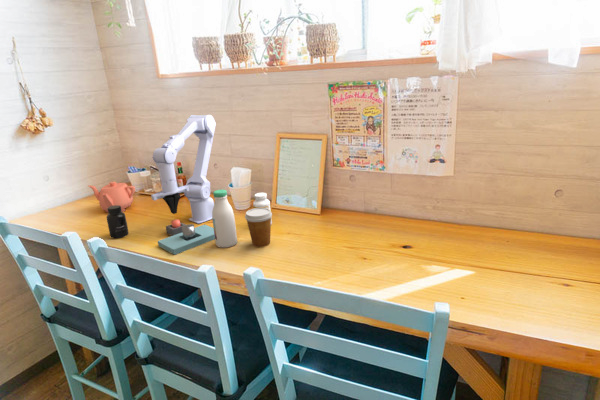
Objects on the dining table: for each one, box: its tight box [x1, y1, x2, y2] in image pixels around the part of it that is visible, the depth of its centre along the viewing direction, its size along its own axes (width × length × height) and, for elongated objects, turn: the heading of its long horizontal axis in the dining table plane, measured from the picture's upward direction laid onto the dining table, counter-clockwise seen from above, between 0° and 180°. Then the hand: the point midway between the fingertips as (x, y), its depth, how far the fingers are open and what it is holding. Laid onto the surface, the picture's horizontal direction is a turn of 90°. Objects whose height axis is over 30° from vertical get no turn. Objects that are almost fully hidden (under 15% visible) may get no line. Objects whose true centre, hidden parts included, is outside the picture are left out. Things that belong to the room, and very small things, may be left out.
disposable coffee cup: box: [244, 207, 273, 248], centre depth 144 cm, size 10×10×12 cm
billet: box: [182, 223, 196, 241], centre depth 151 cm, size 4×4×6 cm
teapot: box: [87, 181, 136, 214], centre depth 193 cm, size 16×17×14 cm
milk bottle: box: [211, 189, 238, 249], centre depth 144 cm, size 8×8×20 cm
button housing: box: [165, 221, 187, 237], centre depth 160 cm, size 6×6×3 cm
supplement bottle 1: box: [106, 205, 129, 239], centre depth 160 cm, size 7×7×12 cm
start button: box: [170, 218, 181, 228], centre depth 160 cm, size 3×3×4 cm
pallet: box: [157, 224, 215, 256], centre depth 152 cm, size 20×12×2 cm, turn 135°
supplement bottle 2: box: [252, 192, 273, 225], centre depth 161 cm, size 7×7×13 cm
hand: (174, 213), depth 158 cm, fingers closed
